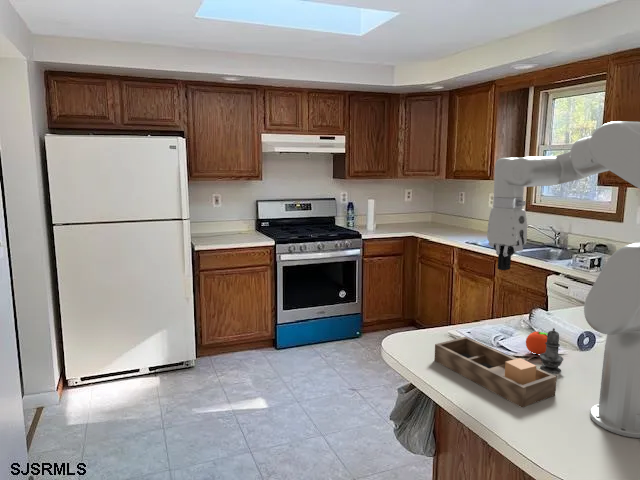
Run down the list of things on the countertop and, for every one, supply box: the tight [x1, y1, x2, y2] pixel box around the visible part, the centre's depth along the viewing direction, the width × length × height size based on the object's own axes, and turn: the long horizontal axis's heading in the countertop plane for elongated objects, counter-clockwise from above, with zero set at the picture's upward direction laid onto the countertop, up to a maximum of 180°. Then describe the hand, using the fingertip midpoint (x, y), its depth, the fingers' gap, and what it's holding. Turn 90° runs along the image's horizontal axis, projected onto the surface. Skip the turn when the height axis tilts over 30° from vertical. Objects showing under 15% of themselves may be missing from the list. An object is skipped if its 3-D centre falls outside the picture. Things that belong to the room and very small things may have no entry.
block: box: [505, 357, 537, 385], centre depth 118 cm, size 5×5×5 cm
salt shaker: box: [539, 327, 564, 375], centre depth 130 cm, size 6×6×12 cm
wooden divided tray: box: [434, 336, 558, 408], centre depth 127 cm, size 30×12×5 cm, turn 28°
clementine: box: [525, 331, 548, 354], centre depth 140 cm, size 8×7×7 cm
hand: (503, 269), depth 132 cm, fingers closed
